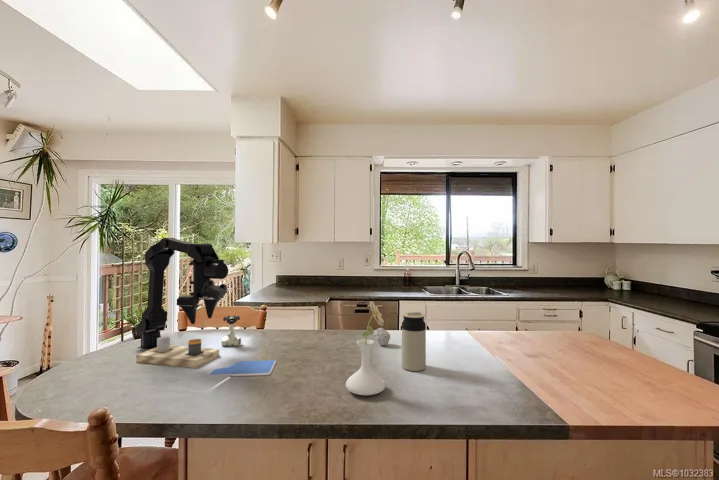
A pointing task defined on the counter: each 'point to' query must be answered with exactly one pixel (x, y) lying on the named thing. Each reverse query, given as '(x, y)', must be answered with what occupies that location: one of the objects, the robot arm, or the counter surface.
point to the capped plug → (194, 347)
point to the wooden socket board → (177, 357)
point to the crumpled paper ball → (382, 336)
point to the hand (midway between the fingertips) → (201, 321)
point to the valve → (231, 333)
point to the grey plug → (163, 344)
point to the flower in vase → (367, 364)
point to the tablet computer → (247, 368)
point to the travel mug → (413, 341)
